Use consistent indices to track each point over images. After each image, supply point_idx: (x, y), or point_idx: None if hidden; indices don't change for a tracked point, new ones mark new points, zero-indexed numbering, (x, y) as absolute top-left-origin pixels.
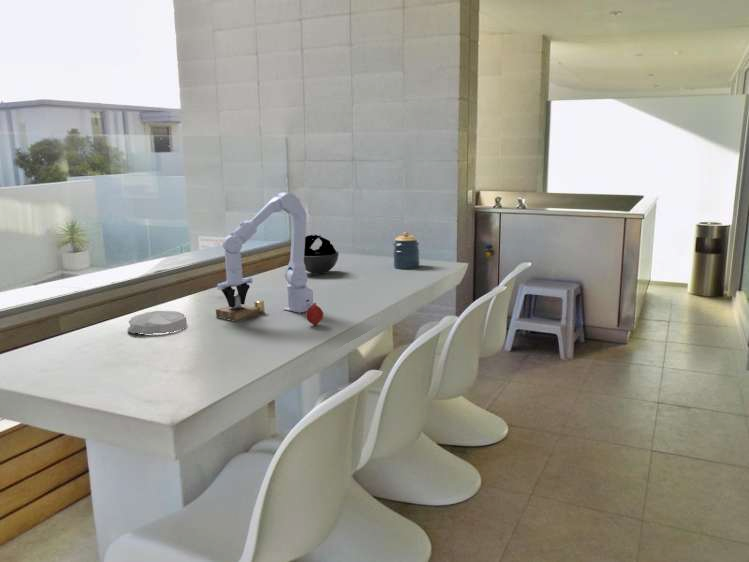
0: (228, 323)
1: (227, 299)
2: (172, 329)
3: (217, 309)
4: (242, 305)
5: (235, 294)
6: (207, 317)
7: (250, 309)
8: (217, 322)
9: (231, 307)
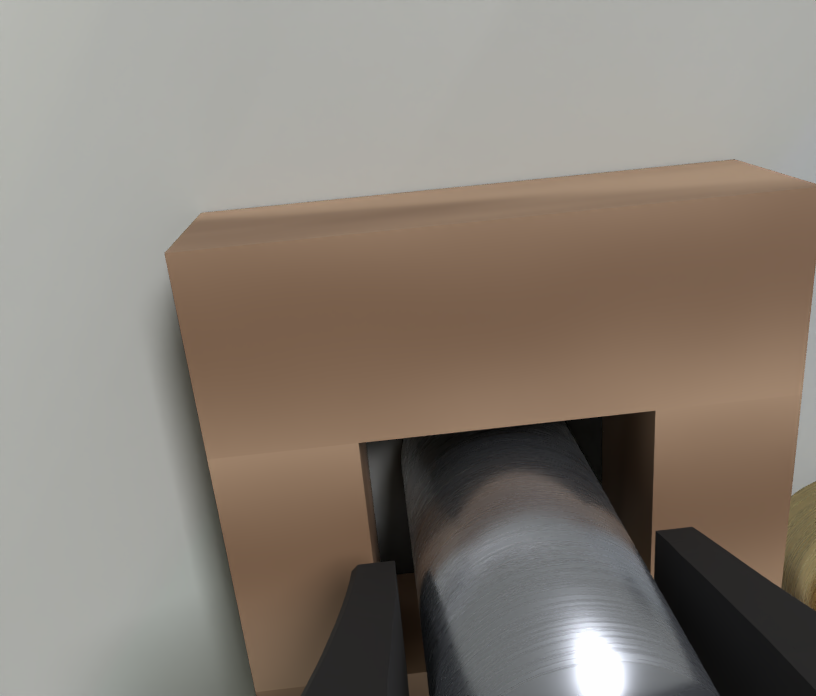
0: (159, 681)
1: (326, 691)
2: None
3: (190, 291)
4: (765, 407)
5: (690, 675)
6: (62, 51)
7: None
8: (54, 523)
9: (427, 520)
